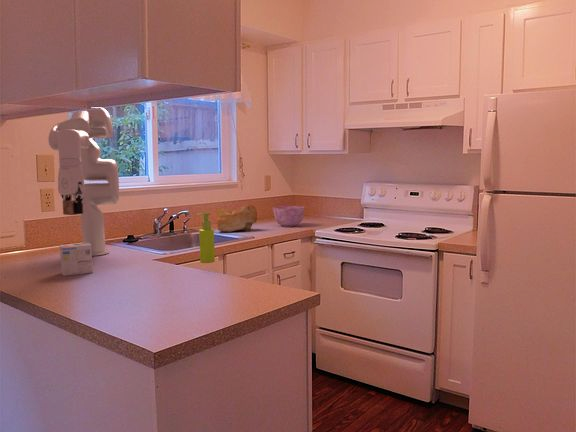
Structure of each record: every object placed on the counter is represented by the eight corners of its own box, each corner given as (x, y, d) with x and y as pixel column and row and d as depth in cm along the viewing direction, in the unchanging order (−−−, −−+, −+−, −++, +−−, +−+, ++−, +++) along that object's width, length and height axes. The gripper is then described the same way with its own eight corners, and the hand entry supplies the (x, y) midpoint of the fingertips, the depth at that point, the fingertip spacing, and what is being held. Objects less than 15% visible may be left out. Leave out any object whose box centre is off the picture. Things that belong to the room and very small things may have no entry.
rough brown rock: (254, 229, 312) (253, 204, 312) (258, 230, 296) (257, 204, 296) (216, 232, 308) (214, 207, 307) (218, 233, 292) (216, 207, 291)
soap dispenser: (196, 261, 212) (195, 212, 210) (213, 259, 215) (211, 211, 212) (198, 263, 207) (197, 214, 205) (215, 262, 209) (214, 213, 207)
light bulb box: (90, 269, 199) (89, 241, 198) (93, 272, 193) (92, 244, 192) (60, 273, 194) (58, 244, 193) (62, 276, 188) (60, 247, 187)
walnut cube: (63, 214, 190) (62, 200, 190) (75, 213, 195) (74, 199, 194) (71, 215, 188) (70, 201, 187) (83, 213, 192) (82, 200, 191)
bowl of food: (266, 226, 316) (265, 208, 315) (285, 223, 333) (285, 205, 331) (293, 229, 305) (292, 209, 304) (311, 225, 321) (311, 206, 320)
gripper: (47, 164, 191) (50, 213, 193) (75, 163, 181) (78, 215, 183) (66, 163, 197) (69, 211, 199) (93, 163, 187) (96, 213, 189)
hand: (73, 212), depth 191 cm, fingers closed on walnut cube, 5 cm apart
